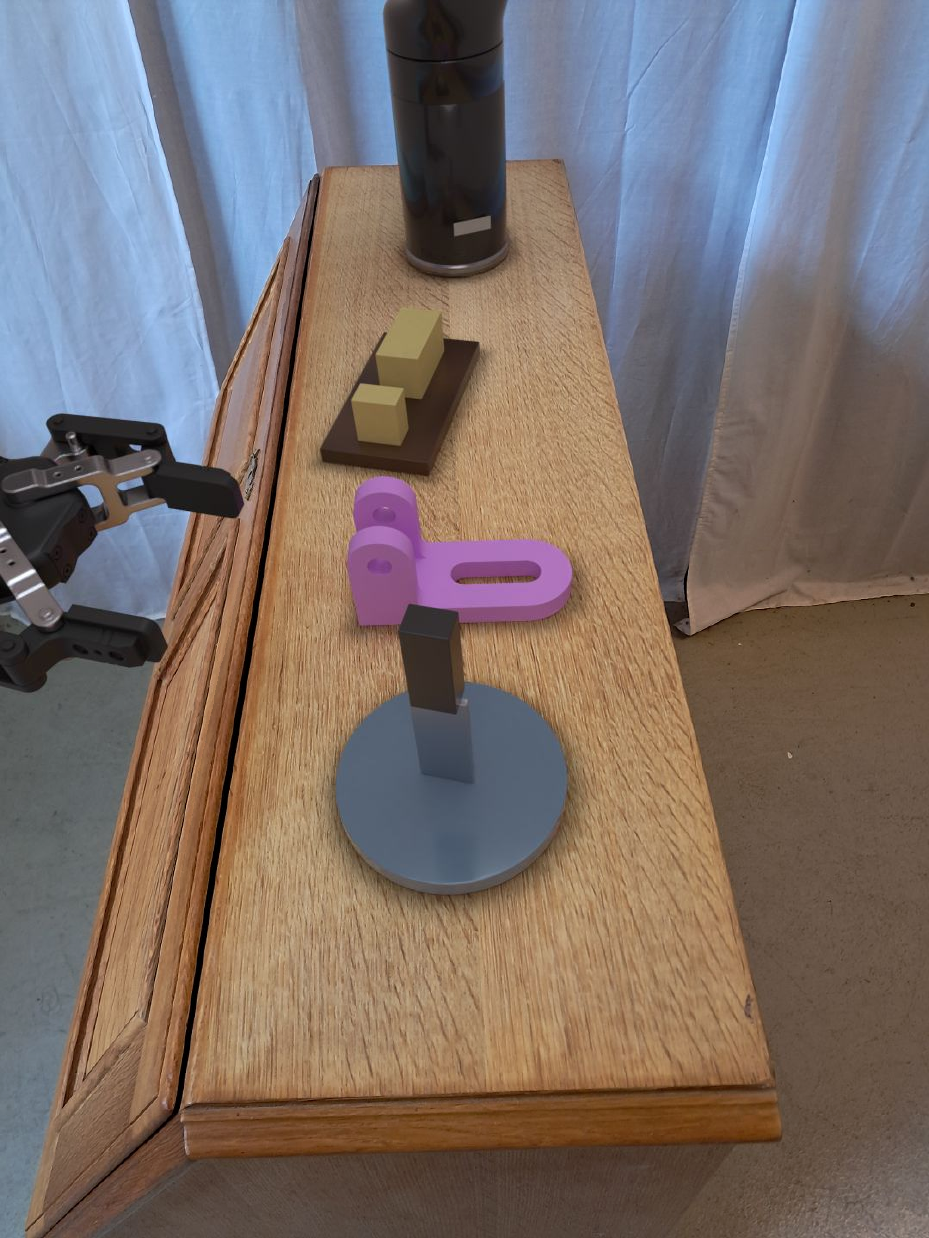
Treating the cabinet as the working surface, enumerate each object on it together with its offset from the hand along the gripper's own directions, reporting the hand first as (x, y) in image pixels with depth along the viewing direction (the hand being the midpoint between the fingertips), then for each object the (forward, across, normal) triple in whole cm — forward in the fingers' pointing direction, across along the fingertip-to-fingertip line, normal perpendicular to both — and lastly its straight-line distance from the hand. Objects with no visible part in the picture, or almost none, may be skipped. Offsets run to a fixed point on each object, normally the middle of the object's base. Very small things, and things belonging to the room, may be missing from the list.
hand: (202, 565), depth 40 cm
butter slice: (0, +25, +14) cm, 28 cm away
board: (0, +30, +15) cm, 33 cm away
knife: (+11, -1, +12) cm, 16 cm away
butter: (0, +33, +14) cm, 35 cm away
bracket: (+9, +12, +14) cm, 21 cm away
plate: (+11, -1, +13) cm, 18 cm away
